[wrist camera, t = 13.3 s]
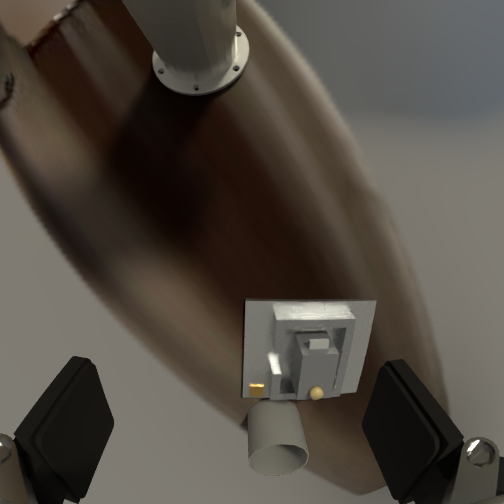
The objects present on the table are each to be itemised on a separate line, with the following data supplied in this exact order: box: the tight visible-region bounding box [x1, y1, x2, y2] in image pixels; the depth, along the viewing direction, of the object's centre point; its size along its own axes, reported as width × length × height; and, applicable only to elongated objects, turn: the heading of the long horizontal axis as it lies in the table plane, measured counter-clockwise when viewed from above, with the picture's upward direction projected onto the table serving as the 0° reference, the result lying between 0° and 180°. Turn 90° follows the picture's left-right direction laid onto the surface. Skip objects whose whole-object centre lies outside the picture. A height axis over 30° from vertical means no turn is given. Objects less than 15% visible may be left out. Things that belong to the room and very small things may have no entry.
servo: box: [290, 332, 339, 400], centre depth 35 cm, size 9×4×7 cm, turn 178°
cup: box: [247, 399, 309, 476], centre depth 37 cm, size 8×8×10 cm
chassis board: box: [243, 299, 376, 400], centre depth 38 cm, size 16×18×3 cm
